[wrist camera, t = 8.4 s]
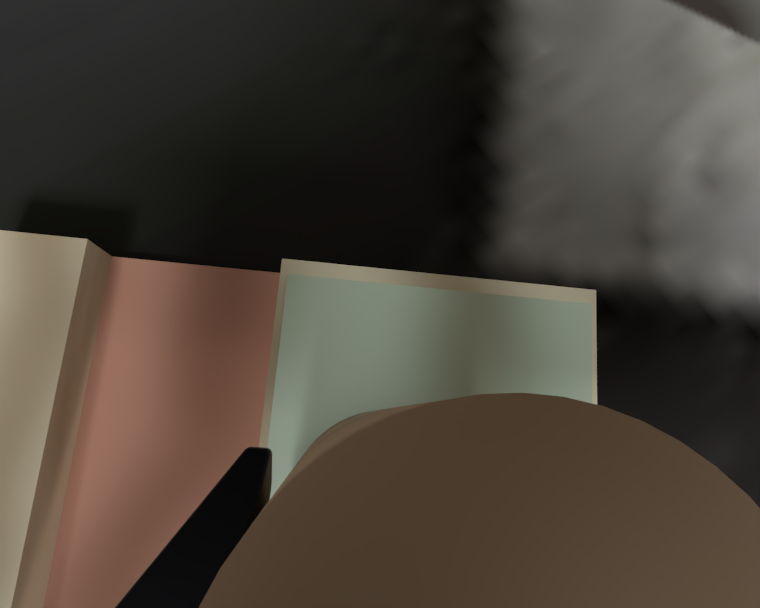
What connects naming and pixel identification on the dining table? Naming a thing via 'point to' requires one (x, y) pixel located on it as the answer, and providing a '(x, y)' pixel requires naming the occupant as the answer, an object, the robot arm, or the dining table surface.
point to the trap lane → (222, 386)
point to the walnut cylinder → (498, 515)
